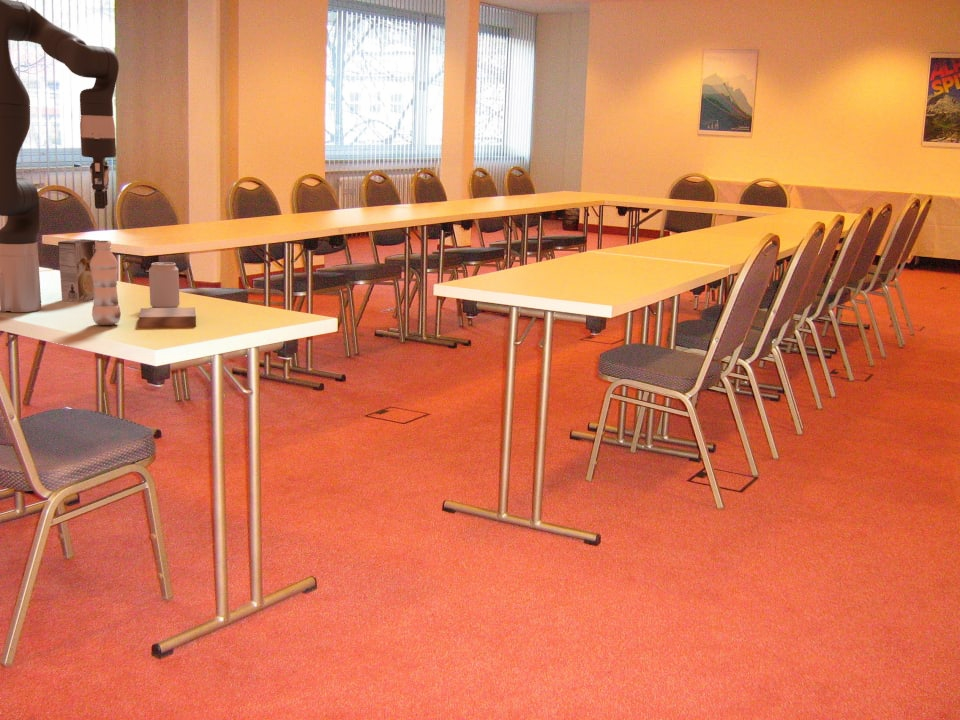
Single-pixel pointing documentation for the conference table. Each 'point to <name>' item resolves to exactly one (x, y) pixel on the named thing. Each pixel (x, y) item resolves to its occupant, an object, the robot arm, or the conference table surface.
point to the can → (164, 285)
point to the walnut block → (167, 317)
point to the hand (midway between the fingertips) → (101, 207)
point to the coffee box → (76, 269)
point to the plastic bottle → (104, 285)
